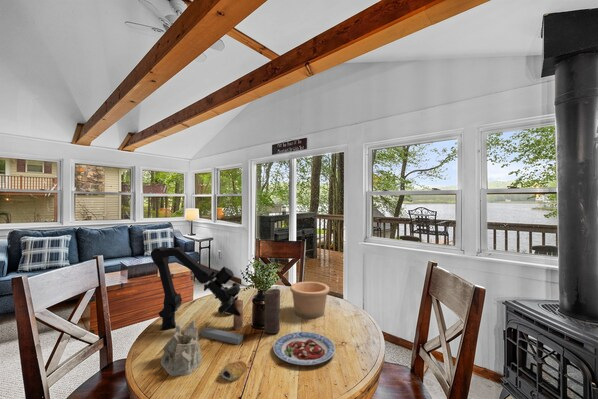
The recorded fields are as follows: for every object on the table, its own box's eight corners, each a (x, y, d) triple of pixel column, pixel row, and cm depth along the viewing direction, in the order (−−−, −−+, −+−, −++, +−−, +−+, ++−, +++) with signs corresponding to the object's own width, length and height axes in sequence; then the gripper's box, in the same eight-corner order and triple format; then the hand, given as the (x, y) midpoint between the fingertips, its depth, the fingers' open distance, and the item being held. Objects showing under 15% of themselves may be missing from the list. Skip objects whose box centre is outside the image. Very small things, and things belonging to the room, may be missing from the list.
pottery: (295, 322, 143) (295, 294, 143) (286, 306, 164) (287, 282, 164) (334, 319, 148) (334, 292, 148) (321, 304, 169) (321, 280, 169)
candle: (277, 336, 128) (277, 293, 128) (262, 334, 129) (262, 291, 129) (281, 329, 135) (282, 288, 135) (267, 327, 137) (267, 287, 137)
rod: (232, 326, 137) (232, 300, 137) (241, 325, 139) (241, 299, 139) (234, 330, 133) (234, 303, 133) (243, 329, 135) (243, 302, 135)
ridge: (200, 336, 127) (200, 330, 127) (206, 332, 130) (206, 327, 130) (238, 344, 120) (238, 338, 120) (242, 340, 123) (242, 335, 123)
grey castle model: (170, 350, 115) (171, 315, 114) (208, 354, 113) (209, 318, 112) (146, 376, 99) (147, 335, 98) (190, 381, 98) (191, 340, 97)
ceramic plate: (325, 334, 131) (325, 328, 131) (343, 366, 105) (344, 359, 105) (271, 338, 126) (271, 332, 126) (276, 373, 101) (276, 365, 101)
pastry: (237, 364, 106) (238, 354, 106) (251, 370, 103) (251, 359, 103) (219, 377, 98) (219, 366, 98) (233, 384, 95) (233, 373, 95)
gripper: (225, 284, 127) (249, 309, 127) (235, 274, 145) (255, 295, 145) (208, 301, 127) (231, 326, 127) (220, 288, 145) (240, 310, 145)
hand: (240, 313), depth 136 cm, fingers closed on rod, 4 cm apart
